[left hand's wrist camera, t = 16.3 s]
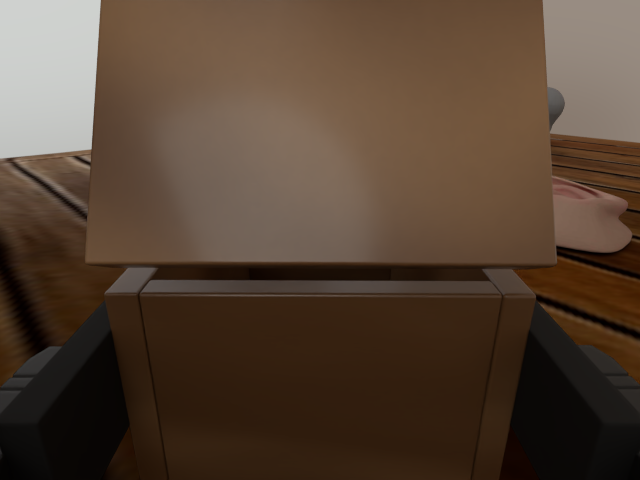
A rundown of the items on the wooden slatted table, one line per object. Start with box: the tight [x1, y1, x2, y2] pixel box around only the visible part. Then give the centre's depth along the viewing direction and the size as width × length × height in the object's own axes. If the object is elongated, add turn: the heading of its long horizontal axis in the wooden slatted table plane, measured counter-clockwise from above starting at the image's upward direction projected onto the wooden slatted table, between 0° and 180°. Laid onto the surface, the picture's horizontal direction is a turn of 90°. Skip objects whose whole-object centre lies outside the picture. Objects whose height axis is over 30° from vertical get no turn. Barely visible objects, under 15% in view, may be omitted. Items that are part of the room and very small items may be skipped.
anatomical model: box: [552, 176, 632, 253], centre depth 40 cm, size 13×4×12 cm
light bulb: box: [547, 87, 565, 130], centre depth 78 cm, size 6×6×10 cm
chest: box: [104, 268, 536, 480], centre depth 18 cm, size 15×9×9 cm, turn 0°
